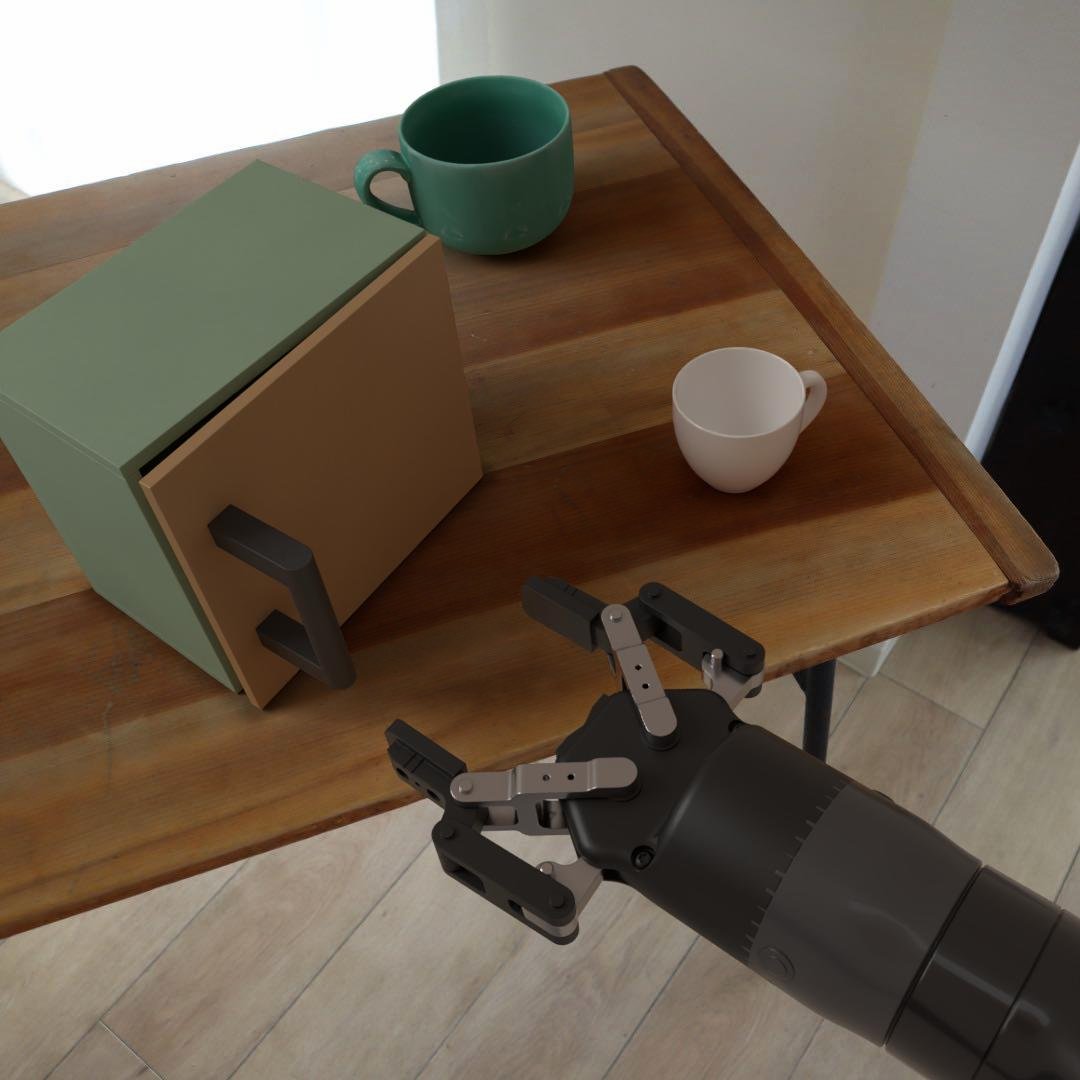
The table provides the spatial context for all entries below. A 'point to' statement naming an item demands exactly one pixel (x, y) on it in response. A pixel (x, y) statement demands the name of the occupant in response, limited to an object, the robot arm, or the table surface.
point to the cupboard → (174, 369)
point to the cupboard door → (324, 477)
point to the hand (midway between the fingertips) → (462, 660)
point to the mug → (481, 163)
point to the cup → (742, 414)
